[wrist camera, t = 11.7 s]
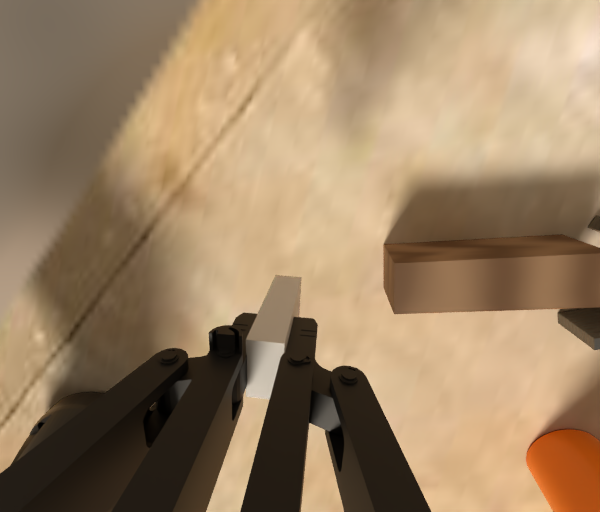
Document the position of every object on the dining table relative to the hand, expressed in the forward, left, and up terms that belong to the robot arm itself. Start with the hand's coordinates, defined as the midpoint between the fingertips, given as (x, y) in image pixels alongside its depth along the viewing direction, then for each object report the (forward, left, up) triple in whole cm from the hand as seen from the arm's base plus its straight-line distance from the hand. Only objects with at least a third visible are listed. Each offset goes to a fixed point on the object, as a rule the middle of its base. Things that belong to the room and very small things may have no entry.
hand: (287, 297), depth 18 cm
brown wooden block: (+14, 0, -10) cm, 17 cm away
